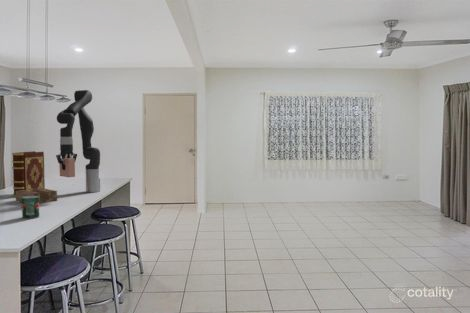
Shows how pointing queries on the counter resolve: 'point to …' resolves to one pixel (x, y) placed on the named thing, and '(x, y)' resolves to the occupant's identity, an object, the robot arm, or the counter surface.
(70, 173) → the pink rectangular block
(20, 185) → the decorative book
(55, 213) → the counter surface
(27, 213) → the canned tomato
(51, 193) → the book stand
